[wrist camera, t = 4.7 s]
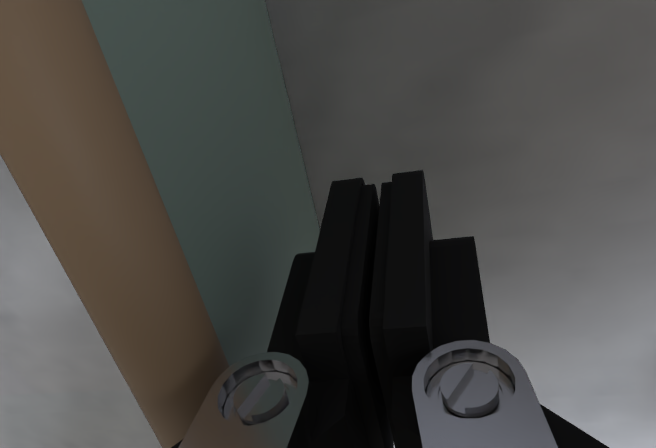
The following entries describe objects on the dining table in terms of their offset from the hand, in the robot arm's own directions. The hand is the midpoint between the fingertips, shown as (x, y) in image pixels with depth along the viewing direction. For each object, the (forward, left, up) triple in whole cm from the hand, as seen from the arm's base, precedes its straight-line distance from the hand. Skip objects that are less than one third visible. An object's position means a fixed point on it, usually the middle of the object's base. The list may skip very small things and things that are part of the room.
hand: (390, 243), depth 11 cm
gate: (+2, -2, -4) cm, 5 cm away
